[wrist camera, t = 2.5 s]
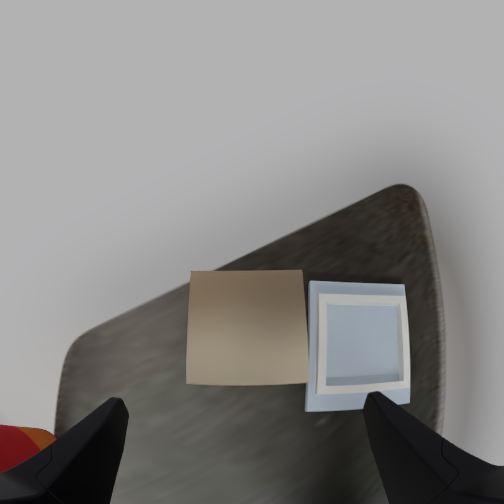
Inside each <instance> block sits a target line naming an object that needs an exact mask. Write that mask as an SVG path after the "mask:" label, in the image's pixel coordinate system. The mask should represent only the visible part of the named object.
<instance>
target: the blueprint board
mask: <svg viewBox="0 0 504 504" xmlns="http://www.w3.org/2000/svg"><path fill="white" fill-rule="evenodd" d="M308 354H309V373H310V382H309V383H306V396H305V411H306V412H314V411H340V410H355V409H363V406H364V403H365V400H366V397H367V394H368V393H370V392H374V391H380V392H381V393H382V394H384V395H385V396H387V397H388V398H389V399H391V400H392V401H393V402H395V403H396V404H397V405H400V404H406V403H410V346H409V328H408V315H407V305H406V295H405V287H404V284H374V283H349V282H328V281H310V282H309V284H308Z"/></svg>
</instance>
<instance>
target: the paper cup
mask: <svg viewBox="0 0 504 504" xmlns="http://www.w3.org/2000/svg"><path fill="white" fill-rule="evenodd" d="M56 439H57V438H56V437H55V436H54V435H53V434H52V433H50V432H48V431H46V430H43V429H38V428H28V427H16V426H7V425H0V472H4V471H7V470H9V469H11V468H13V467H15V466H16V465H18V464H20V463H22V462H24V461H25V460H27V459H29V458H30V457H32V456H34V455H35V454H37V453H38V452H40V451H41V450H43V449H44V448H46V447H47V446H48V445H50V444H52V442H54V441H55V440H56Z"/></svg>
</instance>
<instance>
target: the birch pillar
mask: <svg viewBox="0 0 504 504" xmlns="http://www.w3.org/2000/svg"><path fill="white" fill-rule="evenodd" d="M309 382H310V373H309V354H308V337H307V322H306V309H305V296H304V284H303V273H302V270H260V271H191V278H190V293H189V310H188V331H187V361H186V384H200V385H279V384H296V383H309Z"/></svg>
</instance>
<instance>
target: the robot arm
mask: <svg viewBox="0 0 504 504" xmlns="http://www.w3.org/2000/svg"><path fill="white" fill-rule="evenodd" d="M363 413H364V418H365V422H366V427H367V432H368V437H369V442H370V446H371V449H372V452H373V455H374V458H375V461H376V464H377V467H378V470H379V473H380V476H381V479H382V482H383V485H384V488H385V492H386V495H387V498H388V501H389V504H504V466H496V465H492V464H490V463H487V462H485V461H483V460H481V459H479V458H477V457H475V456H473V455H471V454H469V453H467V452H466V451H464V450H462V449H460V448H458V447H457V446H455V445H454V444H452V443H451V442H449V441H448V440H446V439H445V438H442V436H440V435H439V434H438V433H436V432H435V431H433V430H432V429H431V428H429V427H428V426H426V425H425V424H424V423H422V422H421V421H419V420H418V419H417V418H415V417H414V416H412V415H411V414H410V413H408V412H407V411H406V410H404V409H403V408H401V407H400V406H399V405H397V404H396V403H395V402H393V401H392V400H391V399H389V398H388V397H387V396H385V395H384V394H382V393H381V392H380V391H374V392H370V393H368V394H367V397H366V400H365V403H364V406H363ZM128 419H129V413H128V410H127V408H126V406H125V404H124V402H123V400H122V399H121V398H116V397H111V398H109V399H108V400H107V401H106V402H104V403H103V404H102V405H101V406H99V407H98V408H97V409H95V410H94V411H93V412H92V413H90V414H89V415H88V416H86V417H85V418H84V419H83V420H81V421H80V422H79V423H77V424H76V425H75V426H73V427H72V428H71V429H69V430H68V431H67V432H66V433H64V434H63V435H62V436H60V437H59V438H58V439H56V440H55V441H54V442H52V444H50V445H48V446H47V447H46V448H44V449H43V450H41V451H40V452H38V453H37V454H35V455H34V456H32V457H30V458H29V459H27V460H25V461H24V462H22V463H20V464H18V465H16V466H15V467H13V468H11V469H9V470H7V471H4V472H0V504H110V501H111V496H112V492H113V488H114V484H115V480H116V476H117V472H118V468H119V465H120V461H121V457H122V454H123V449H124V444H125V437H126V431H127V425H128Z"/></svg>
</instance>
